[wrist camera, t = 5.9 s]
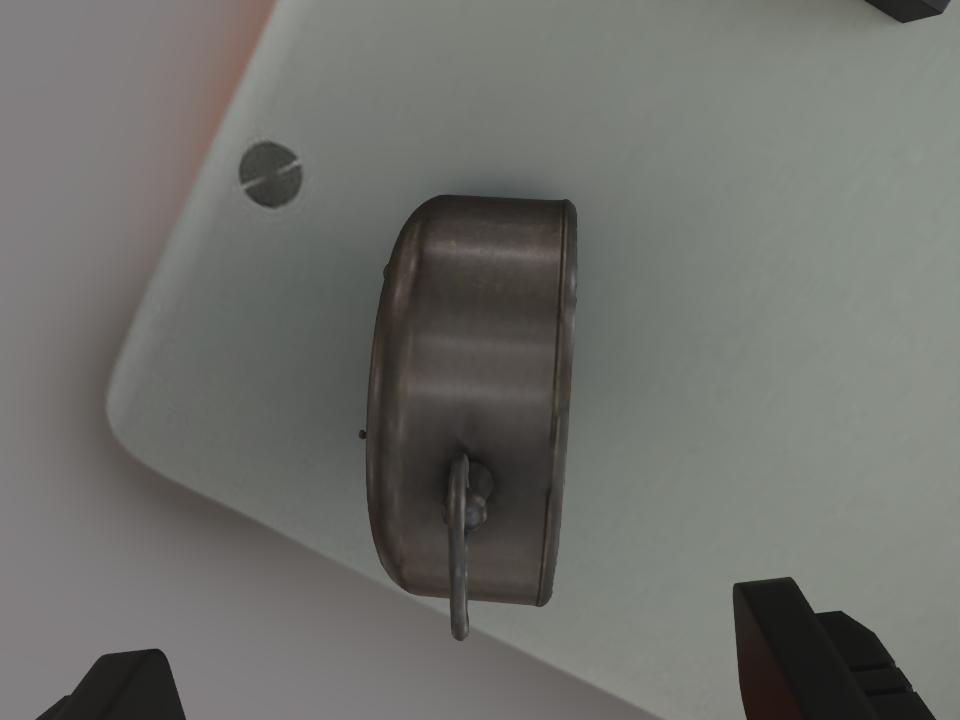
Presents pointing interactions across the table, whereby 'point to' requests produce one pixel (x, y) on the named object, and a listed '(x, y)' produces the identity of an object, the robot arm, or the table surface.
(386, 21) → the table surface
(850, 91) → the table surface
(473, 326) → the alarm clock
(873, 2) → the scale
